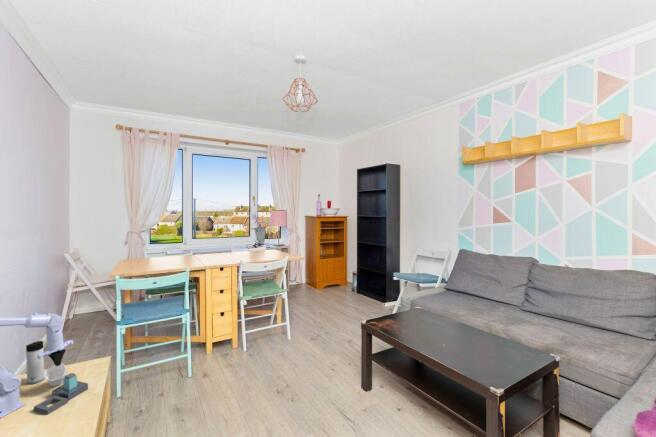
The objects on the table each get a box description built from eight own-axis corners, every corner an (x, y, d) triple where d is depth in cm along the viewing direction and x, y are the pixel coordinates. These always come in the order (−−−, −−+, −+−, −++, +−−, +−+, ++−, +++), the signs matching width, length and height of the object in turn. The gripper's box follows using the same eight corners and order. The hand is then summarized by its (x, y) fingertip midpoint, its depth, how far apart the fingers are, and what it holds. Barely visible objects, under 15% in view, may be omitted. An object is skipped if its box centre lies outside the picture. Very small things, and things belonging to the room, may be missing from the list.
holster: (47, 414, 131) (47, 410, 131) (34, 411, 133) (33, 406, 133) (67, 402, 139) (67, 398, 138) (54, 399, 140) (54, 395, 140)
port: (68, 400, 140) (68, 394, 140) (51, 396, 142) (51, 390, 142) (87, 389, 148) (87, 382, 148) (72, 385, 151) (72, 379, 151)
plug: (69, 396, 143) (69, 377, 143) (63, 394, 144) (63, 376, 143) (77, 391, 147) (77, 373, 146) (71, 390, 147) (71, 372, 147)
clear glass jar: (43, 383, 149) (39, 376, 143) (57, 367, 155) (55, 360, 149) (58, 389, 150) (55, 383, 144) (72, 374, 156) (70, 367, 150)
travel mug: (34, 385, 150) (33, 346, 149) (23, 383, 152) (22, 344, 150) (48, 378, 156) (47, 340, 155) (38, 376, 158) (36, 339, 156)
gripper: (44, 347, 139) (47, 375, 140) (77, 332, 153) (79, 357, 154) (32, 345, 141) (35, 373, 142) (66, 330, 155) (68, 356, 156)
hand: (57, 365), depth 148 cm, fingers closed, pressing on clear glass jar
